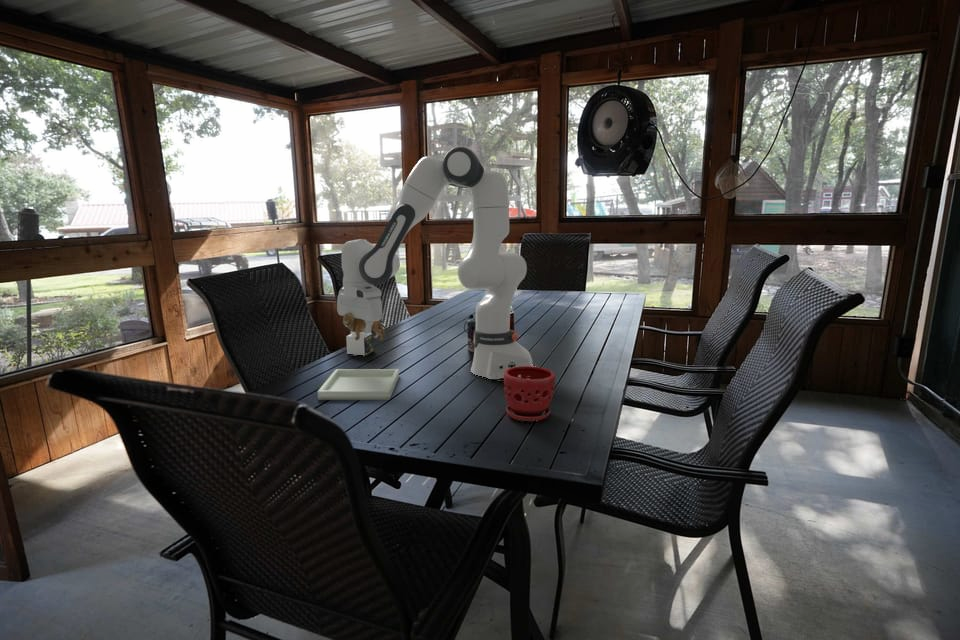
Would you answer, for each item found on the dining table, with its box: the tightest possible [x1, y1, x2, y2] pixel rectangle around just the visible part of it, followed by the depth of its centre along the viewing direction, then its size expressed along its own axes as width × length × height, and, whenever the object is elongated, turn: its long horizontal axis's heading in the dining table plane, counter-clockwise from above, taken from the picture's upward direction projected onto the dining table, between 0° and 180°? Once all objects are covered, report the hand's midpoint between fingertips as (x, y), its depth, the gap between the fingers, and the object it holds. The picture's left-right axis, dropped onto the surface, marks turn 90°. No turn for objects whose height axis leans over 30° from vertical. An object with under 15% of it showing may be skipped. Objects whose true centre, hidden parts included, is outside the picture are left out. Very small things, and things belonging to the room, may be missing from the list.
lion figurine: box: [342, 313, 390, 341], centre depth 170 cm, size 15×5×9 cm, turn 95°
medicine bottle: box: [345, 330, 374, 357], centre depth 189 cm, size 7×7×12 cm
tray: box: [317, 368, 400, 401], centre depth 155 cm, size 20×20×2 cm
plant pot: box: [503, 366, 556, 421], centre depth 134 cm, size 13×13×12 cm
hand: (360, 331), depth 170 cm, fingers closed on lion figurine, 7 cm apart
